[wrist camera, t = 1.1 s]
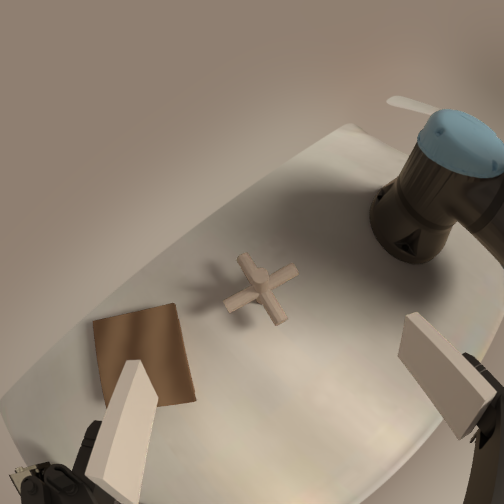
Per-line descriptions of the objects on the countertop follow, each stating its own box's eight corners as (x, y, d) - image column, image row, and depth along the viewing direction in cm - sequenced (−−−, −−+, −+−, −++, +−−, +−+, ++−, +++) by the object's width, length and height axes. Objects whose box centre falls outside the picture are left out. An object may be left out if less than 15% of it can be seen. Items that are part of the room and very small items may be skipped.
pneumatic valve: (89, 480, 27) (46, 497, 16) (54, 488, 25) (15, 500, 14) (72, 453, 29) (27, 464, 18) (40, 464, 27) (-1, 471, 16)
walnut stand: (184, 310, 39) (173, 302, 35) (203, 397, 34) (194, 401, 29) (109, 327, 39) (92, 320, 34) (123, 407, 33) (106, 410, 29)
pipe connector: (215, 285, 41) (200, 260, 31) (274, 254, 42) (275, 220, 33) (248, 345, 37) (242, 337, 28) (310, 309, 38) (323, 290, 29)
